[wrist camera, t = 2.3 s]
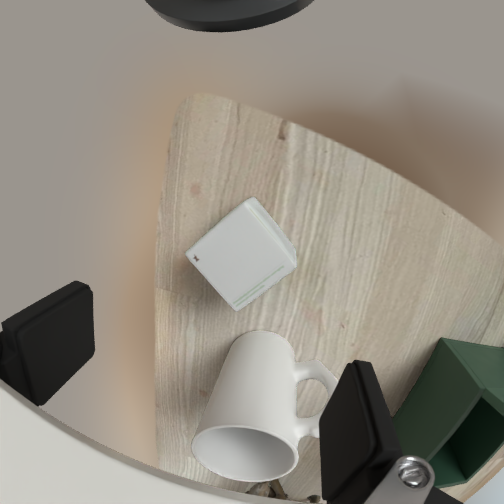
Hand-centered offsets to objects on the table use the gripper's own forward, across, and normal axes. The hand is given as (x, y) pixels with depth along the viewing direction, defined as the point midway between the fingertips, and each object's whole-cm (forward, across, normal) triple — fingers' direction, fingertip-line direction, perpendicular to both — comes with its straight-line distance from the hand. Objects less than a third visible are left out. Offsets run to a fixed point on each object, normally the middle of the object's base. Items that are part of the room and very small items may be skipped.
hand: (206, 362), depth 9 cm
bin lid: (-2, -26, +3) cm, 27 cm away
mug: (+16, -4, +9) cm, 18 cm away
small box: (+16, +1, 0) cm, 16 cm away
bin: (+15, -26, +12) cm, 33 cm away
